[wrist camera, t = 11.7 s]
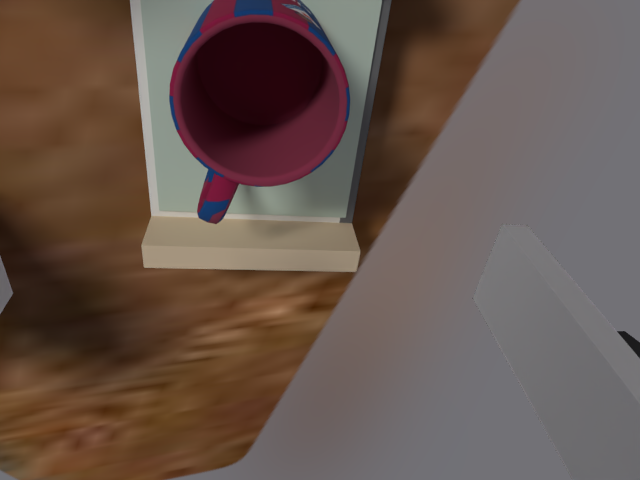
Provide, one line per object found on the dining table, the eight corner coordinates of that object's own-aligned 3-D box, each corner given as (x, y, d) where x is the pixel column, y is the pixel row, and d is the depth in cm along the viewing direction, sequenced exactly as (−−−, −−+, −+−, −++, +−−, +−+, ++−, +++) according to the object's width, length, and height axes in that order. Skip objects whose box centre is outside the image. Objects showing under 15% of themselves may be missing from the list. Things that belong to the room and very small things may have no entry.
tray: (120, -266, 19) (72, -328, 14) (411, -212, 21) (459, -250, 16) (161, 211, 31) (144, 267, 26) (341, 218, 33) (356, 272, 28)
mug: (354, 38, 23) (385, 79, 18) (254, 193, 27) (253, 266, 22) (231, -50, 20) (222, -35, 15) (141, 137, 25) (107, 202, 19)
